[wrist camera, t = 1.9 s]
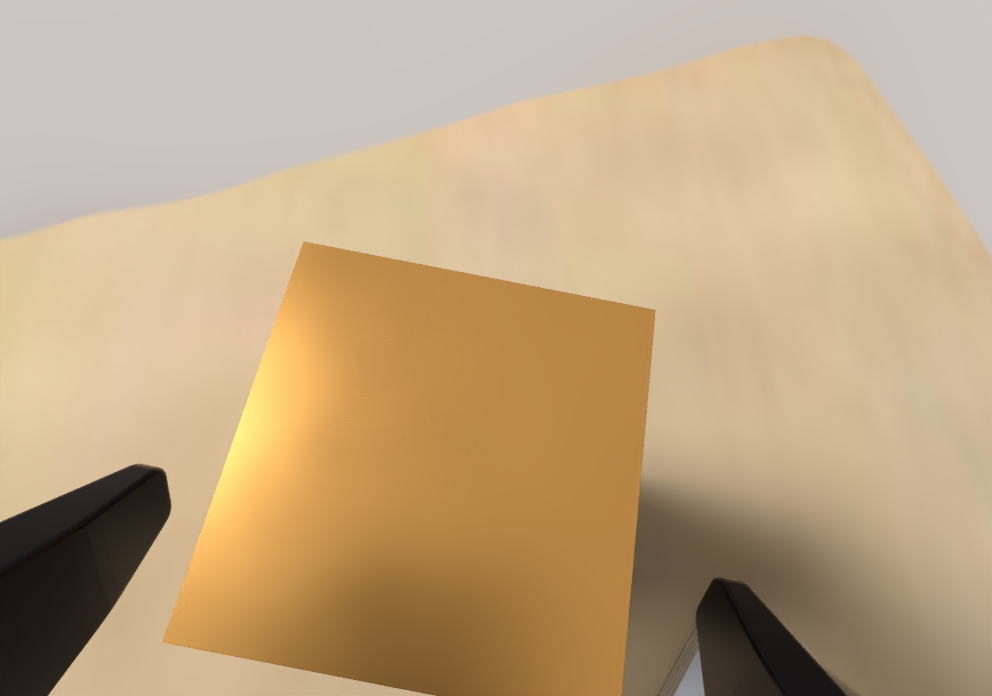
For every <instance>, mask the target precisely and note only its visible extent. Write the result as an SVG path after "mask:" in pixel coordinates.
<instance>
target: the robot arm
mask: <svg viewBox="0 0 992 696" xmlns="http://www.w3.org/2000/svg"><path fill="white" fill-rule="evenodd" d="M170 511H171V499H170V493H169V488H168V482H167V476H166V473H165V471H164V470H163V469H162V468H159V467H154V466H149V465H144V464H134V465H131V466H128V467H126V468H124V469H122V470H119V471H117V472H115V473H112V474H110V475H108V476H105V477H103V478H101V479H98V480H96V481H94V482H92V483H89V484H87V485H85V486H82V487H80V488H78V489H75V490H73V491H71V492H68V493H66V494H64V495H62V496H59V497H57V498H55V499H52V500H50V501H48V502H45V503H43V504H41V505H38V506H36V507H34V508H32V509H29V510H27V511H25V512H22V513H20V514H18V515H15V516H13V517H11V518H8V519H6V520H4V521H2V522H0V696H48V695H49V693H50V692H51V691H52V689H53V688H54V687H55V685H56V684H57V683H58V681H59V680H60V679H61V677H62V676H63V675H64V673H65V672H66V671H67V669H68V668H69V667H70V665H71V664H72V663H73V661H74V660H75V659H76V657H77V656H78V655H79V653H80V652H81V651H82V649H83V648H84V647H85V645H86V644H87V643H88V641H89V640H90V639H91V637H92V636H93V635H94V633H95V632H96V631H97V629H98V628H99V627H100V625H101V624H102V623H103V621H104V620H105V618H106V617H107V616H108V614H109V613H110V611H111V610H112V608H113V607H114V605H115V604H116V602H117V601H118V599H119V598H120V596H121V595H122V593H123V591H124V590H125V588H126V586H127V585H128V583H129V582H130V580H131V578H132V577H133V575H134V573H135V572H136V570H137V568H138V567H139V565H140V564H141V562H142V560H143V559H144V557H145V555H146V554H147V552H148V551H149V549H150V547H151V546H152V544H153V542H154V541H155V539H156V538H157V536H158V534H159V533H160V531H161V529H162V528H163V526H164V525H165V523H166V521H167V519H168V517H169V515H170ZM696 628H697V636H698V645H699V653H700V661H701V669H702V678H703V686H704V694H705V696H847V695H846V694H845V693H844V692H843V690H842V689H841V688H840V687H839V686H838V685H837V684H836V683H835V682H834V680H833V679H832V678H831V677H830V676H829V675H828V674H827V673H826V672H825V671H824V669H823V668H822V667H821V666H820V665H819V664H818V663H817V662H816V661H815V659H814V658H813V657H812V656H811V655H810V654H809V653H808V652H807V651H806V649H805V648H804V647H803V646H802V645H801V644H800V643H799V642H798V641H797V639H796V638H795V637H794V636H793V635H792V634H791V633H790V632H789V631H788V629H787V628H786V627H785V626H784V625H783V624H782V623H781V622H780V621H779V619H778V618H777V617H776V616H775V615H774V614H773V613H772V612H771V611H770V610H769V608H768V607H767V606H766V605H765V604H764V603H763V602H762V601H761V600H760V598H759V597H758V596H757V595H756V594H755V593H754V592H753V591H752V590H751V588H750V587H749V586H748V585H747V584H746V583H744V582H743V581H741V580H738V579H733V578H728V577H723V576H717V577H716V578H714V579H713V580H712V582H711V584H710V586H709V587H708V589H707V591H706V593H705V595H704V597H703V598H702V600H701V602H700V604H699V606H698V608H697V612H696Z"/></svg>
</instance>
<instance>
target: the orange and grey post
mask: <svg viewBox="0 0 992 696" xmlns="http://www.w3.org/2000/svg"><path fill="white" fill-rule="evenodd" d="M654 322H655V310H653V309H648V308H643V307H637V306H632V305H627V304H622V303H617V302H612V301H607V300H601V299H596V298H591V297H586V296H581V295H576V294H571V293H565V292H560V291H555V290H550V289H545V288H540V287H535V286H529V285H524V284H519V283H514V282H509V281H504V280H499V279H494V278H488V277H483V276H478V275H473V274H468V273H463V272H458V271H452V270H447V269H442V268H437V267H432V266H427V265H422V264H416V263H411V262H406V261H401V260H396V259H391V258H386V257H380V256H375V255H370V254H365V253H360V252H355V251H350V250H344V249H339V248H334V247H329V246H324V245H319V244H314V243H308V242H303V244H302V247H301V250H300V253H299V256H298V259H297V261H296V264H295V267H294V270H293V273H292V276H291V278H290V281H289V284H288V287H287V290H286V293H285V296H284V298H283V301H282V304H281V307H280V310H279V313H278V315H277V318H276V321H275V324H274V327H273V330H272V332H271V335H270V338H269V341H268V344H267V347H266V349H265V352H264V355H263V358H262V361H261V364H260V367H259V369H258V372H257V375H256V378H255V381H254V384H253V386H252V389H251V392H250V395H249V398H248V401H247V403H246V406H245V409H244V412H243V415H242V418H241V420H240V423H239V426H238V429H237V432H236V435H235V437H234V440H233V443H232V446H231V449H230V452H229V455H228V457H227V460H226V463H225V466H224V469H223V472H222V474H221V477H220V480H219V483H218V486H217V489H216V491H215V494H214V497H213V500H212V503H211V506H210V508H209V511H208V514H207V517H206V520H205V523H204V525H203V528H202V531H201V534H200V537H199V540H198V543H197V545H196V548H195V551H194V554H193V557H192V560H191V562H190V565H189V568H188V571H187V574H186V577H185V579H184V582H183V585H182V588H181V591H180V594H179V596H178V599H177V602H176V605H175V608H174V611H173V614H172V616H171V619H170V622H169V625H168V628H167V631H166V633H165V636H164V639H163V643H168V644H174V645H179V646H184V647H189V648H194V649H199V650H204V651H209V652H215V653H220V654H225V655H230V656H235V657H240V658H245V659H251V660H256V661H261V662H266V663H271V664H276V665H281V666H287V667H292V668H297V669H302V670H307V671H312V672H317V673H322V674H328V675H333V676H338V677H343V678H348V679H353V680H358V681H364V682H369V683H374V684H379V685H384V686H389V687H394V688H400V689H405V690H410V691H415V692H420V693H425V694H430V695H436V696H622V687H623V676H624V664H625V653H626V642H627V630H628V619H629V607H630V596H631V584H632V573H633V562H634V550H635V539H636V527H637V516H638V504H639V493H640V482H641V470H642V459H643V447H644V436H645V425H646V413H647V402H648V390H649V379H650V367H651V356H652V345H653V333H654Z"/></svg>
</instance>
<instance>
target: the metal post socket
mask: <svg viewBox="0 0 992 696" xmlns="http://www.w3.org/2000/svg"><path fill="white" fill-rule="evenodd" d="M658 696H705V694H704V686H703V678H702V669H701V661H700V653H699V645H698V636H697V628H695V630H694V631H693V633H692V635H691V637H690V639H689V640H688V642H687V644H686V646H685V648H684V650H683V651H682V653H681V655H680V657H679V659H678V661H677V662H676V664H675V666H674V668H673V670H672V671H671V673H670V675H669V677H668V679H667V681H666V682H665V684H664V686H663V688H662V690H661V692H660V693H659V695H658Z"/></svg>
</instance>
